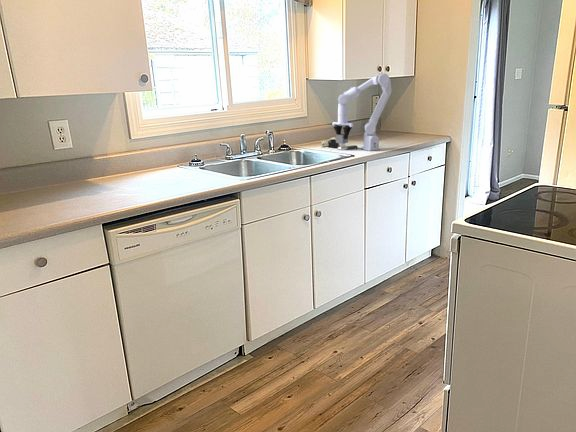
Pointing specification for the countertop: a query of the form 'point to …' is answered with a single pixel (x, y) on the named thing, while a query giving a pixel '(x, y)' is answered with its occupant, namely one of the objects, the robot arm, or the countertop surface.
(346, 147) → the ratchet
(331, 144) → the pneumatic valve
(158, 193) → the countertop surface
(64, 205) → the countertop surface
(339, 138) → the hollow square tube
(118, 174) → the countertop surface
